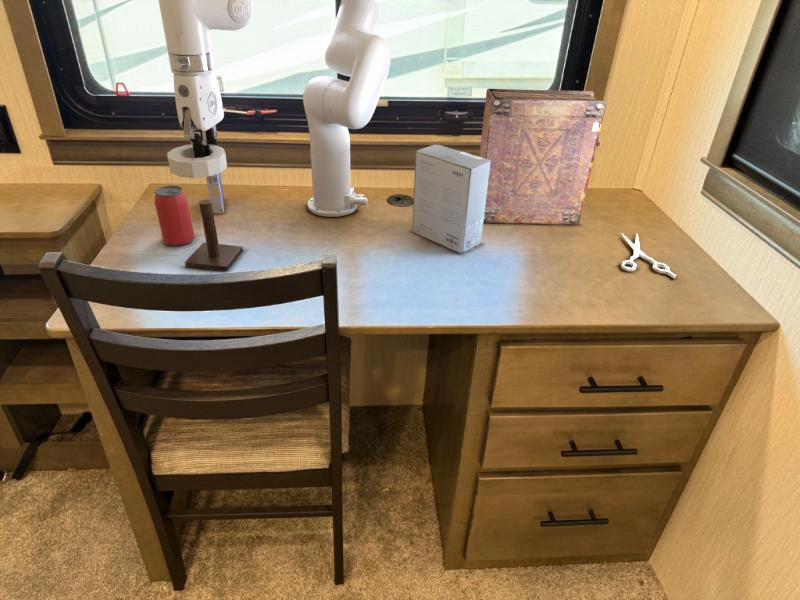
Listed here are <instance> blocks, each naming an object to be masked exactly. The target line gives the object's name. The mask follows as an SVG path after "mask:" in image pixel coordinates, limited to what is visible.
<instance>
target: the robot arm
mask: <svg viewBox="0 0 800 600" xmlns="http://www.w3.org/2000/svg"><path fill="white" fill-rule="evenodd" d="M158 5H159V11H160V15H161V21H162V22H161V23H162V28H163V33H164V38H165V44H166V49H167V55H168V61H169V66H170V71H171V73H172V74H173V90H174V99H175V107H176V114H177V120H178V122H179V126H180V128H181V129H182V130H183V137H184V138H185V139H188V140H189V141H190V145H193V151H194V157H195V158H203V157H206V156H210V155H211V153H210V146H209V144H210V145H216V146H218V139H217V138H218V132H217V127H218V125H217V124H218V123H220V122H221V121H223V119H224V117H225V112H224V111H225V110H224V105H223V100H222V94H221V90H220V86H219V85H220V84H219V80H218V77H217V73H216V70H215V63H214V55H213V50H212V42H211V34H210V31H211V30H218V31H239V30H241V29H243V28H245V27H246V26H247V25H248V24H249V23H250V22H251V21H252V18H253V15H254V4H253V1H252V0H158ZM377 18H378V1H377V0H340V4H339V9H338V12H337V15H336V17H335V21H334V24H333V27H332V29H331V32H330V35H329V38H328V41H327V44H326V47H325V51H324V61H325V64H326V66H327V67H328V68H329V69H330V70H331V71H332V72H334V73H337V74H340V75H342V76H346V77H349V81H348V80H344V79H341V78H336V77H334V76H333V77H332V76H329V75H328V76H327V75H319V76H316V77H313V78H311V79H310V80H309V81H308V82H307V83H306V85H305V86H304V90H303V94H302V101H303V108H304V112H305V116H306V121H307V127H308V133H309V147H310V149H309V150H310V165H311V180H312V181H311V182H312V197H311V198H310V199H309V200H308V201H307V209H308V211H309V212H311V213H312V214H314V215H317V216H320V217H324V218H327V217H328V218H337V217H343V216H347V215H350V214H352V213H354V212H355V211H356V210H357V208H358V205H359V206H368V202H369V201H368V200H369V199H368V197H365V194H362V193H361V194H360V193H359V194H357V193H356V192H355V188H354V187H352V185H351V184H352V181H351V180H352V179H351V138H350V132H349V129H351V130H359V129H362V128H364V127H365V126H367V124H368V123H369V122H370V120H371V119H372V117H373V114H374V113H375V110H376V108H377V105H378V103H379V100H380V98H381V94H382V92H383V89H384V86H385V83H386V82H387V80H388V79H387V78H388V75H389V73H390V69H391V63H392V62H391V61H392V57H391V56H392V53H391V48H390V47H389V44H388V42H387V41H386V40H385V39H384V38H383V37H381V36H380V35H378V34H373V32H374V29H375V26H376V22H377Z"/></svg>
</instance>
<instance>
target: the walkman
mask: <svg viewBox="0 0 800 600" xmlns="http://www.w3.org/2000/svg"><path fill="white" fill-rule="evenodd" d="M205 178H206V185H207V190H208V197H209V200H211V202H212V208H213V214H224V211H225V210H224V209H225V197H224V195H225V194H224V191H223V189H224V188H223V183H222V177H221V173H218V174H215V175H212V176H209V177H205Z"/></svg>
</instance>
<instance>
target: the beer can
mask: <svg viewBox="0 0 800 600" xmlns="http://www.w3.org/2000/svg"><path fill="white" fill-rule="evenodd" d="M183 189H184V188H182V187H181V186H179V185H164V186H160V187H159V188H156V189H155V191H154V194H155V195H154V206H155V210H156V215H157V219H158V224H159V228H160V232H161V236H162V240H163V242H164V243H165V244H166V245H168V246H171V247H172V246H173V247H180V246H185V245H188V244H189V243H191V242H192V241H193V240H194V238H195V232H194V227H193V221H192V216H191V212H190V207H189V202H188V197H187V195H186V194H185V191H184V190H183Z"/></svg>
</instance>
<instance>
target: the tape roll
mask: <svg viewBox="0 0 800 600" xmlns="http://www.w3.org/2000/svg"><path fill="white" fill-rule="evenodd" d="M209 146H210V153H211V155H210V156H206V157H203V158H195V157H194V151H193V145H192V144H184V145H182V146H178V147H174V148H173V149H172V148H171V150H169V151H168V152H167V153H166V157H167V161H168V167H169V171H170V174H172V175H174V176H177V177H179V178H189V179H197V178H199V179H200V178H206V177H209V176H212V175H215V174H218V173H220V174H221V173H223V172H224V171H225V170H226V169H227V168H228V163H227V155H226V151H225V148H223V147H222V146H219V145H217V146H216V145H210V144H209Z"/></svg>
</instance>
